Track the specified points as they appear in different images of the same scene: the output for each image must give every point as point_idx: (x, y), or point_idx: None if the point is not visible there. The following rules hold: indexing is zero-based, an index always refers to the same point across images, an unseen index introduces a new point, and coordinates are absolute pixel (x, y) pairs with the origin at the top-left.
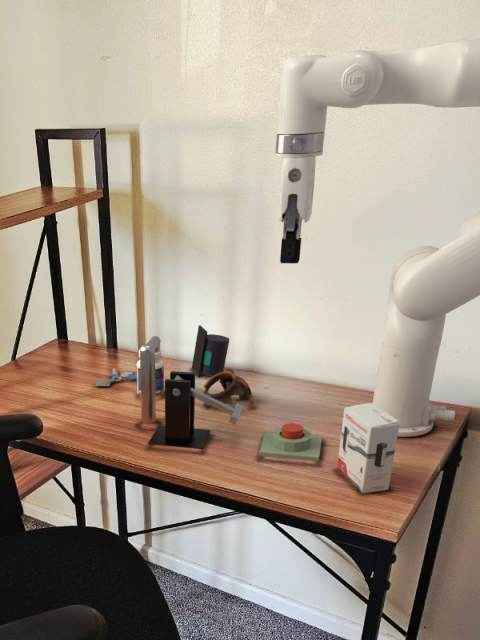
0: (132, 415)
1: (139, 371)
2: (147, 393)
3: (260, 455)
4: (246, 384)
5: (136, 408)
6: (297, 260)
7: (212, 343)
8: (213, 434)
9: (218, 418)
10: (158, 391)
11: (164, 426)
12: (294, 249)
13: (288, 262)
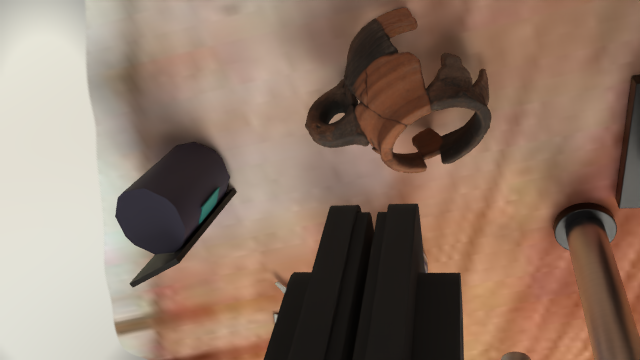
0: (523, 267)
1: None
2: (625, 292)
3: None
4: (407, 63)
5: (478, 268)
6: (415, 222)
7: (190, 223)
8: (621, 69)
9: (500, 83)
10: None
11: (624, 195)
12: (458, 337)
13: (424, 270)
